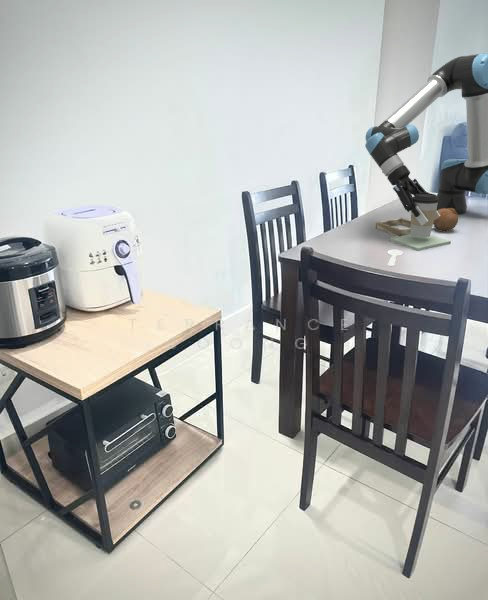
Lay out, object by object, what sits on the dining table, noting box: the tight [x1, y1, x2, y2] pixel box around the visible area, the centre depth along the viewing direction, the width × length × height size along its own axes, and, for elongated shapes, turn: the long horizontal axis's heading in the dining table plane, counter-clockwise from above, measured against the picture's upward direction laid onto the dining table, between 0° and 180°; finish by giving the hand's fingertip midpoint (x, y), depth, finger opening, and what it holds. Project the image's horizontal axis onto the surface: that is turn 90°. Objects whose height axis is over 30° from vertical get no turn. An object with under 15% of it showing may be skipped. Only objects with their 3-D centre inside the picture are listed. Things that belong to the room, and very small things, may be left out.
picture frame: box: [375, 217, 411, 237], centre depth 178 cm, size 14×14×2 cm
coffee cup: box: [410, 191, 439, 237], centre depth 159 cm, size 9×9×15 cm
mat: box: [389, 234, 452, 252], centre depth 163 cm, size 16×14×1 cm
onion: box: [433, 208, 459, 232], centre depth 175 cm, size 10×9×10 cm
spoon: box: [386, 248, 404, 267], centre depth 149 cm, size 5×18×1 cm, turn 157°
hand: (431, 220), depth 157 cm, fingers closed on coffee cup, 9 cm apart
